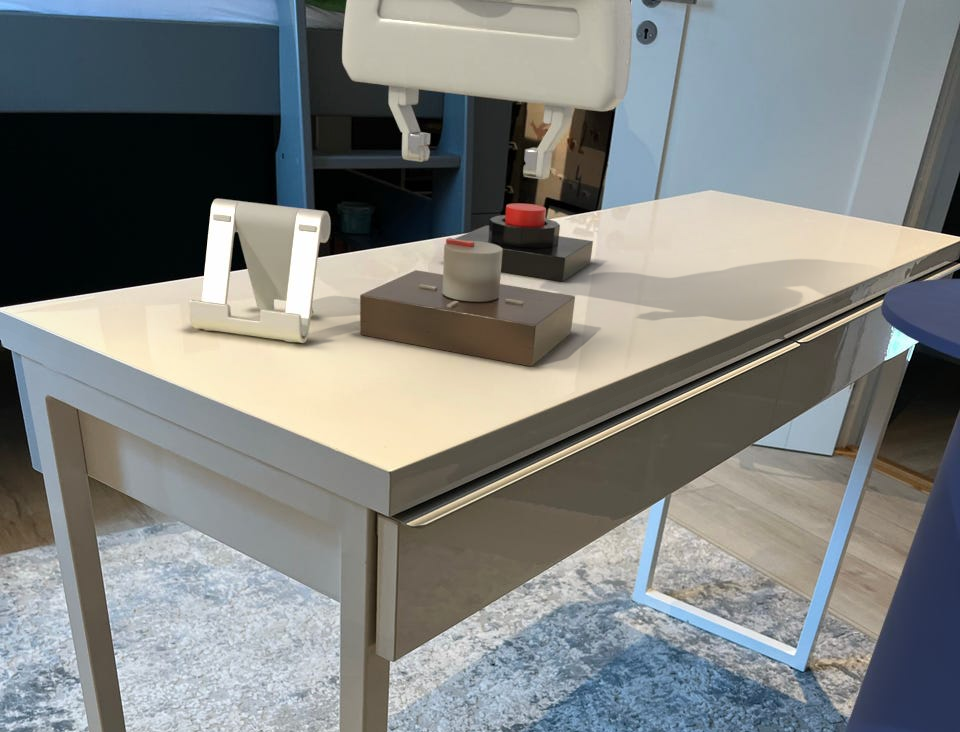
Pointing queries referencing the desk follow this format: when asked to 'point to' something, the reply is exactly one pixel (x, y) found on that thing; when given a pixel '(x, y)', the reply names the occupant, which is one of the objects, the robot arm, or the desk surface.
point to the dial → (471, 270)
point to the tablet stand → (262, 268)
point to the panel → (467, 319)
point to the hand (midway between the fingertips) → (474, 168)
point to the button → (525, 214)
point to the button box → (534, 248)
